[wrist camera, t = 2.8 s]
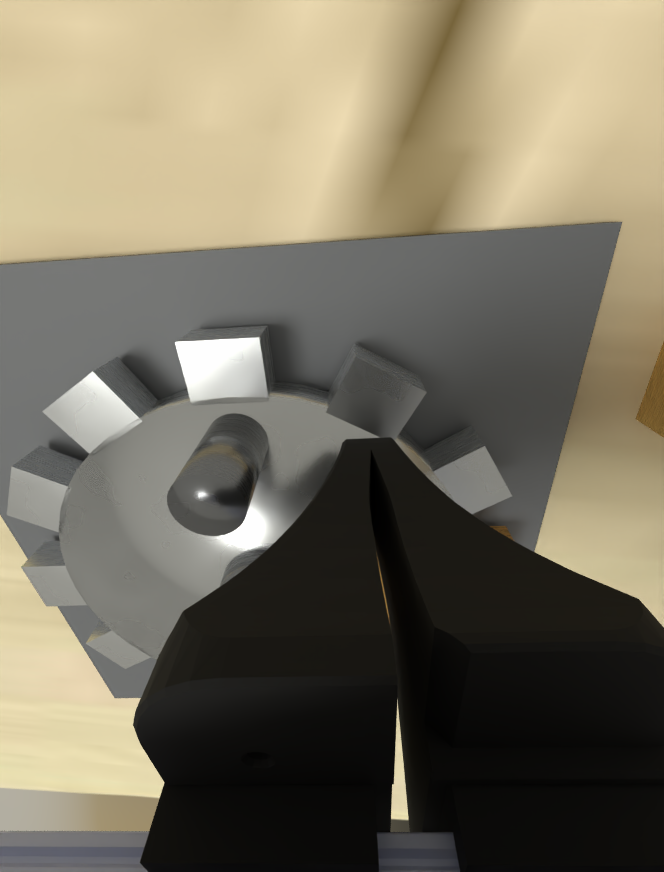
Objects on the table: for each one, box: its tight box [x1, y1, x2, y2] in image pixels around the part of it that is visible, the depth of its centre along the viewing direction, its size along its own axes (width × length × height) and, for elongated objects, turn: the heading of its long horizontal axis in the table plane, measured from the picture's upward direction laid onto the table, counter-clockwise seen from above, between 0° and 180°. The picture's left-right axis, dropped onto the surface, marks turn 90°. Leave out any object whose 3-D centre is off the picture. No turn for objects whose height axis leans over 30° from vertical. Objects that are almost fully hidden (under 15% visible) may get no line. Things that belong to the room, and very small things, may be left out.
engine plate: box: [0, 222, 622, 698], centre depth 16 cm, size 22×21×1 cm
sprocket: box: [7, 325, 514, 669], centre depth 13 cm, size 18×18×4 cm
